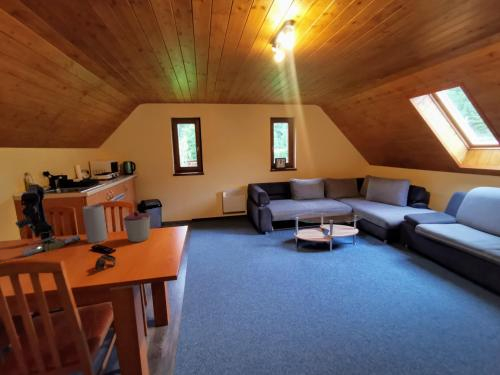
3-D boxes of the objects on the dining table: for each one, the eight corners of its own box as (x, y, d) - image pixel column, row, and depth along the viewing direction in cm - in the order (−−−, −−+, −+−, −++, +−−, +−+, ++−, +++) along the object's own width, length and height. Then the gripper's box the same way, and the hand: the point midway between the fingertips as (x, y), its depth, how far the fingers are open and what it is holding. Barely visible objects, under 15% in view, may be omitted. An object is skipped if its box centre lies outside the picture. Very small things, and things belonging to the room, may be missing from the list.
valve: (22, 255, 160) (20, 245, 159) (77, 240, 185) (76, 231, 184) (25, 257, 156) (23, 247, 155) (81, 241, 181) (80, 233, 180)
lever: (54, 237, 172) (53, 235, 171) (56, 238, 170) (56, 236, 170) (27, 245, 159) (27, 242, 159) (30, 245, 158) (30, 243, 157)
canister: (146, 233, 192) (143, 206, 189) (157, 239, 180) (154, 210, 177) (121, 240, 180) (117, 211, 176) (131, 246, 167) (127, 215, 164)
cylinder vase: (111, 238, 184) (106, 205, 180) (93, 244, 174) (88, 209, 170) (102, 236, 191) (97, 204, 187) (84, 241, 181) (79, 207, 177)
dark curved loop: (96, 266, 141) (103, 252, 143) (113, 272, 143) (120, 257, 144) (88, 270, 129) (95, 255, 131) (106, 276, 131) (113, 261, 132)
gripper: (9, 214, 153) (14, 239, 155) (22, 217, 143) (27, 244, 146) (32, 210, 162) (36, 233, 165) (45, 213, 153) (49, 237, 155)
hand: (37, 237), depth 157 cm, fingers closed
